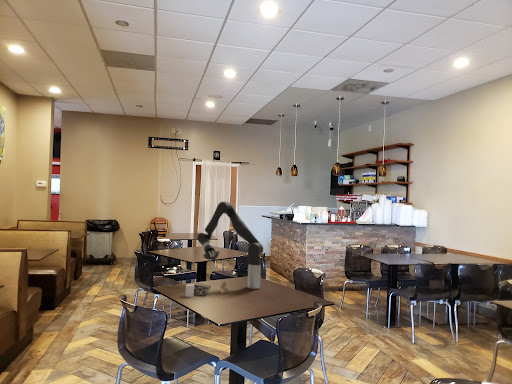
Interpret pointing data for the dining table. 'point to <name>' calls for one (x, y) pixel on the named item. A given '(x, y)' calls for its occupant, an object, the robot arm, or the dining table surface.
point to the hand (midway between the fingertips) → (214, 260)
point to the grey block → (189, 290)
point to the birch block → (224, 287)
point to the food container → (201, 289)
